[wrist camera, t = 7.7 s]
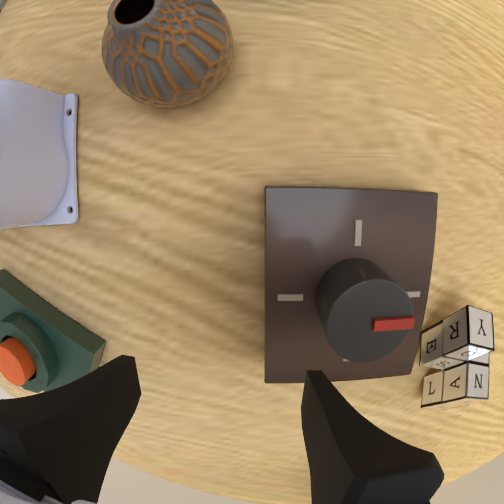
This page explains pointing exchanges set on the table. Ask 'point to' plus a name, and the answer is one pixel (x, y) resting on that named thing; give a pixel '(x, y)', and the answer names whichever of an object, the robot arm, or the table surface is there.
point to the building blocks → (457, 359)
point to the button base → (46, 337)
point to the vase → (166, 49)
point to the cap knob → (363, 311)
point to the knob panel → (330, 254)
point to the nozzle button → (16, 361)
